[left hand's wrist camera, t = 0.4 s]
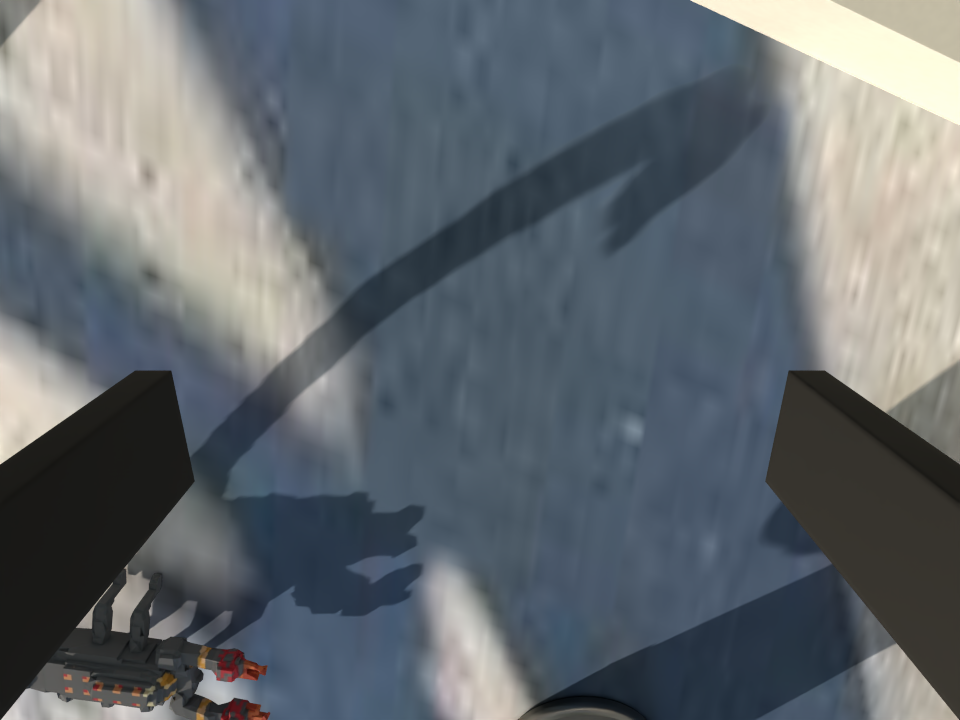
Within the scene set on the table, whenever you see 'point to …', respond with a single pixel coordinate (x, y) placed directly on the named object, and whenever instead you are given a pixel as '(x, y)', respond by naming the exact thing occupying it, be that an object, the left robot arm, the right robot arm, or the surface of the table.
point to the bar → (870, 41)
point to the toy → (144, 666)
